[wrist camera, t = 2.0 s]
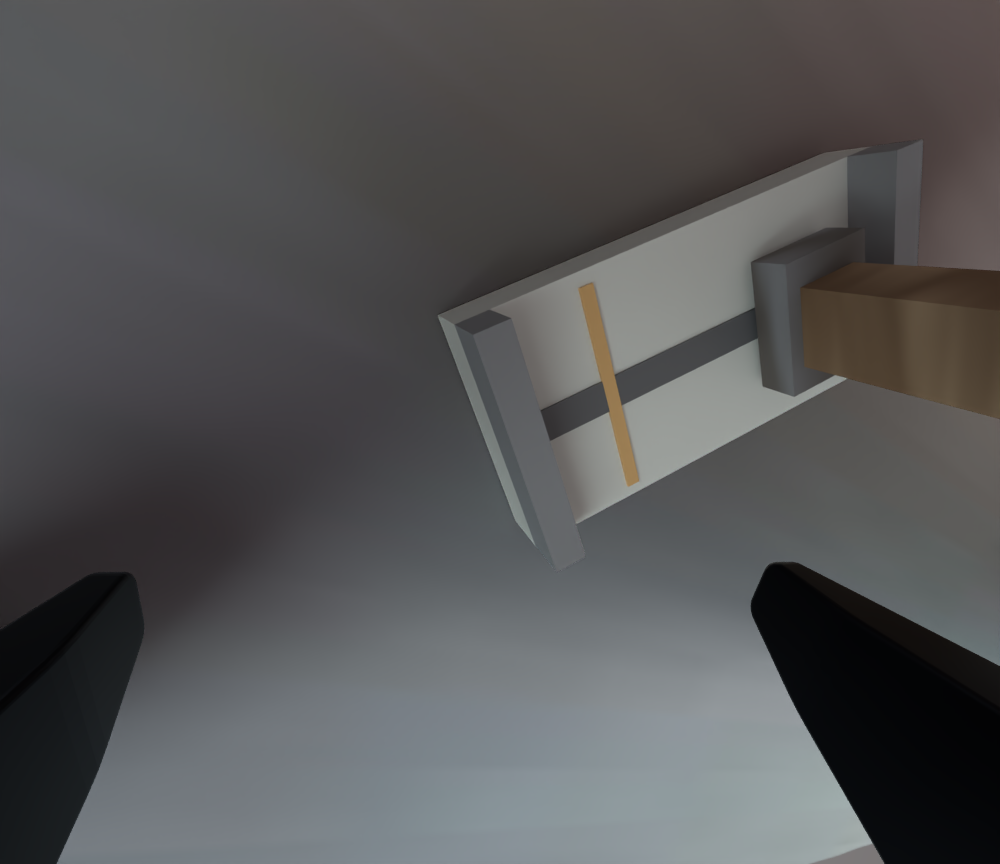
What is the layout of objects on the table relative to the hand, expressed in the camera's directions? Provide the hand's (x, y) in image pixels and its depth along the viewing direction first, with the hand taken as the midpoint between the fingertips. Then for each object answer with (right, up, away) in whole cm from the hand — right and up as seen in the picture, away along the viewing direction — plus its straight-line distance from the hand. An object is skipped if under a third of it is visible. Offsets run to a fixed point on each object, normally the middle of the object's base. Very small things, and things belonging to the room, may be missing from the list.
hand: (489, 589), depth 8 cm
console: (+7, +6, +14) cm, 17 cm away
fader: (+11, +7, +13) cm, 18 cm away
